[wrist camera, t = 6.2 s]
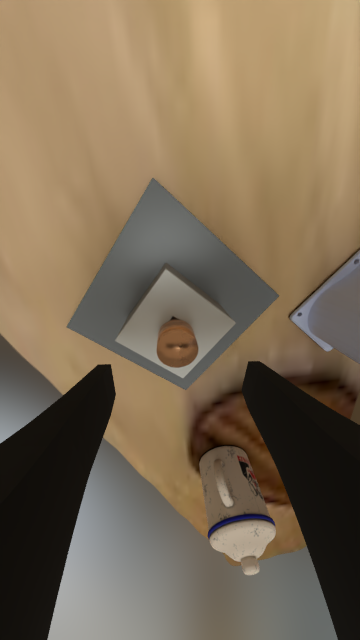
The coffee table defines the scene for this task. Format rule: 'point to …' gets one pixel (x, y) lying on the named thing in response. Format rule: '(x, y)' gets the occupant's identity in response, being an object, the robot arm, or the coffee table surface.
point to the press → (169, 289)
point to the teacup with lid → (235, 507)
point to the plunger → (176, 343)
